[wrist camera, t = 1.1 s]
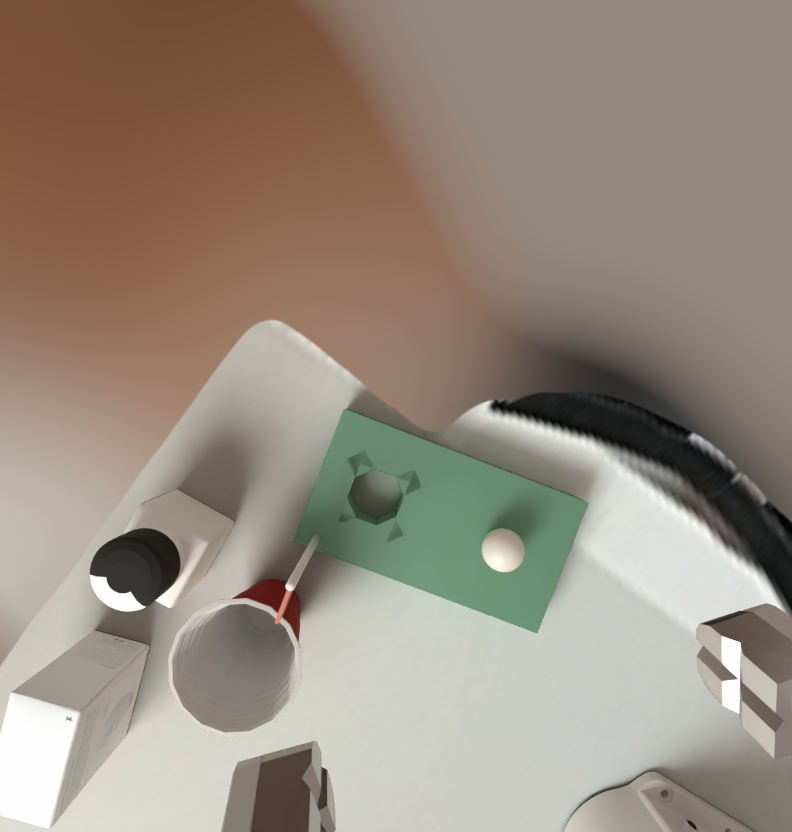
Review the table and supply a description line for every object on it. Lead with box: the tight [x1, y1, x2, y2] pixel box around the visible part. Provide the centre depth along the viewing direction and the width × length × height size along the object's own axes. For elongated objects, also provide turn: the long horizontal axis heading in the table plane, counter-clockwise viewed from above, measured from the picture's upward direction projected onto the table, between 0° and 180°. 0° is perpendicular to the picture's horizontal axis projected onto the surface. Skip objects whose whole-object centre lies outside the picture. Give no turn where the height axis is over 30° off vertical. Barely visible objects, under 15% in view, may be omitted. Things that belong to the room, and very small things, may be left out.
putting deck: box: [274, 409, 588, 633], centre depth 40 cm, size 26×16×15 cm, turn 69°
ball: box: [482, 528, 525, 572], centre depth 43 cm, size 4×4×4 cm
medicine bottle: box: [90, 490, 234, 611], centre depth 41 cm, size 7×7×12 cm
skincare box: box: [0, 631, 150, 829], centre depth 42 cm, size 10×6×10 cm, turn 165°
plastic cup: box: [168, 579, 302, 737], centre depth 42 cm, size 11×11×12 cm
